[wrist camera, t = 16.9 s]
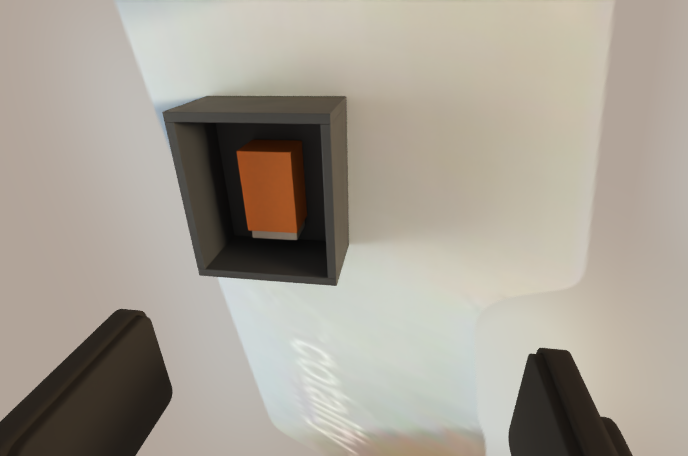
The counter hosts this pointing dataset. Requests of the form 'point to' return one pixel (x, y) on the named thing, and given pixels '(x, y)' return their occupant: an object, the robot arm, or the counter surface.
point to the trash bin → (226, 190)
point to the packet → (273, 188)
